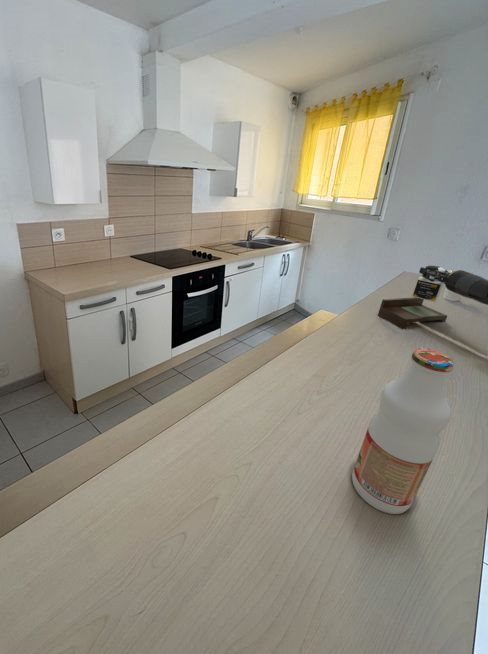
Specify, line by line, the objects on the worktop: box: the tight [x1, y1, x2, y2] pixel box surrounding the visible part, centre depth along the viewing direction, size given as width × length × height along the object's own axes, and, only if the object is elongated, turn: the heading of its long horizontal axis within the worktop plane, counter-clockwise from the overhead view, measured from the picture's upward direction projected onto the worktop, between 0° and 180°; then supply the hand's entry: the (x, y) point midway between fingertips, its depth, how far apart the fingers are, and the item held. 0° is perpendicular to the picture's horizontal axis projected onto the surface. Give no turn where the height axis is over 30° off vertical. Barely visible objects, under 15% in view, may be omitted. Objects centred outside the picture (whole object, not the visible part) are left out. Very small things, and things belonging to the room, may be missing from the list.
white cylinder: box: [442, 287, 461, 302], centre depth 150 cm, size 7×7×7 cm
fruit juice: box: [351, 347, 455, 515], centre depth 52 cm, size 9×9×28 cm
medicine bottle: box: [412, 265, 446, 303], centre depth 120 cm, size 7×7×12 cm
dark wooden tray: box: [377, 296, 448, 330], centre depth 126 cm, size 20×12×7 cm, turn 105°
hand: (429, 270), depth 121 cm, fingers closed on medicine bottle, 6 cm apart
